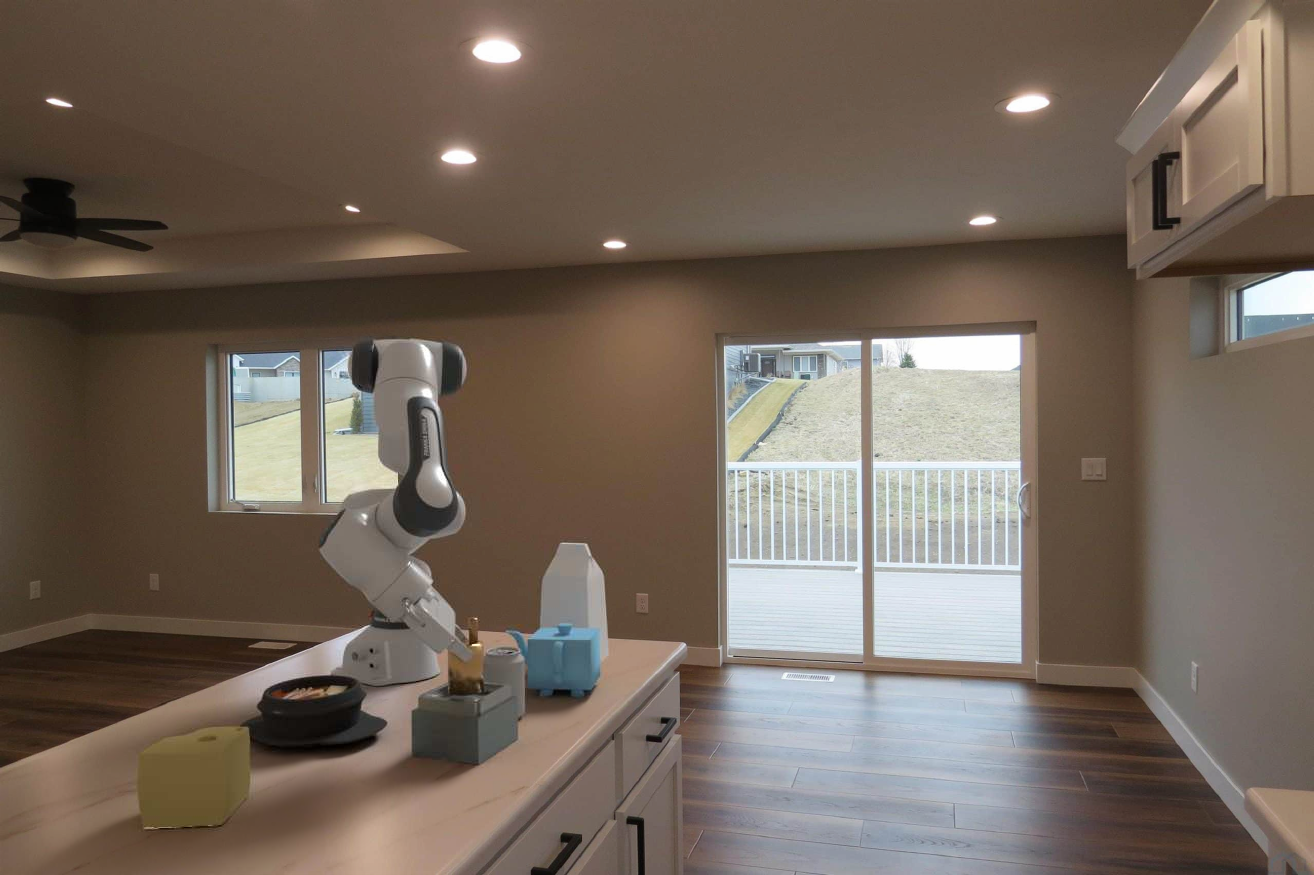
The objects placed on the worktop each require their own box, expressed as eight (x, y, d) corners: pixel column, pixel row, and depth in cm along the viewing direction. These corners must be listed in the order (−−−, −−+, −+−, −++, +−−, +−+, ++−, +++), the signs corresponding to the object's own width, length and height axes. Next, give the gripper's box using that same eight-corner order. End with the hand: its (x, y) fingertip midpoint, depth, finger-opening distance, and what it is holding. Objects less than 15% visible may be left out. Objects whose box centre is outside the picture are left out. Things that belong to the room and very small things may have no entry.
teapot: (602, 679, 179) (601, 616, 179) (589, 702, 163) (588, 633, 163) (515, 678, 181) (515, 615, 181) (494, 700, 165) (493, 632, 165)
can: (515, 725, 151) (515, 655, 151) (475, 723, 152) (474, 653, 152) (530, 712, 158) (530, 645, 158) (491, 709, 160) (491, 643, 160)
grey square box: (411, 755, 137) (411, 697, 137) (455, 731, 148) (454, 677, 148) (478, 764, 133) (478, 705, 133) (518, 739, 144) (517, 684, 144)
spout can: (447, 697, 137) (447, 623, 137) (448, 687, 142) (447, 616, 142) (484, 694, 138) (483, 621, 138) (483, 684, 144) (482, 614, 144)
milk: (538, 666, 190) (537, 546, 190) (559, 653, 201) (558, 539, 201) (590, 670, 186) (589, 547, 186) (609, 657, 197) (608, 541, 197)
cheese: (174, 799, 121) (173, 726, 121) (255, 796, 122) (254, 724, 122) (136, 833, 111) (135, 754, 111) (225, 829, 112) (224, 750, 112)
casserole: (208, 748, 141) (208, 696, 141) (290, 713, 159) (290, 667, 159) (339, 765, 133) (339, 709, 133) (410, 726, 151) (409, 677, 151)
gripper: (417, 590, 129) (485, 653, 131) (422, 570, 149) (482, 625, 151) (385, 622, 128) (455, 685, 130) (395, 598, 148) (455, 652, 150)
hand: (469, 652), depth 141 cm, fingers closed on spout can, 6 cm apart
